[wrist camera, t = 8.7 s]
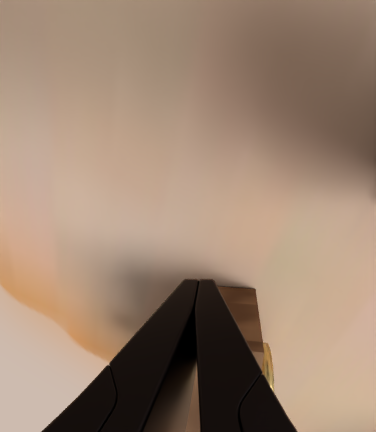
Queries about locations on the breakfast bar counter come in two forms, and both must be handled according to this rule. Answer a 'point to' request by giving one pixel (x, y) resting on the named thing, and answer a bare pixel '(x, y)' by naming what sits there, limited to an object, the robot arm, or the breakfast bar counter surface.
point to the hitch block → (250, 327)
